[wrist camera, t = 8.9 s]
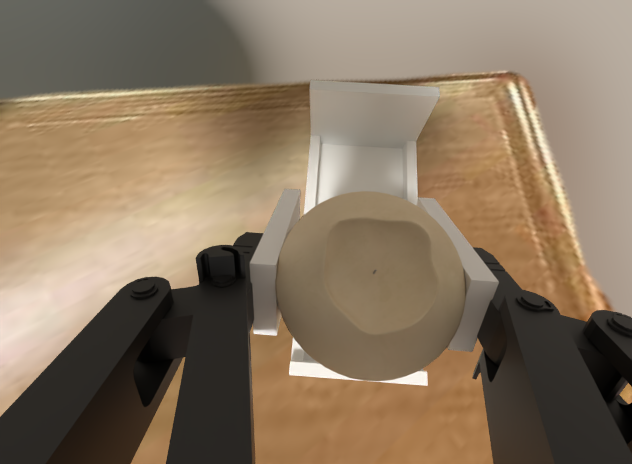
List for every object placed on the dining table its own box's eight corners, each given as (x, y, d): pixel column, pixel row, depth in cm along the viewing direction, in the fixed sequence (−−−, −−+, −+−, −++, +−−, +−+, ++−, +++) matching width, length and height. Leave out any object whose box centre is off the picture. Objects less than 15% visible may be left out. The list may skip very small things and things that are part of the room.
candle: (275, 296, 17) (223, 251, 8) (350, 236, 18) (385, 132, 9) (340, 381, 16) (371, 451, 6) (417, 311, 17) (542, 283, 7)
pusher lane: (292, 369, 28) (281, 387, 20) (311, 140, 35) (310, 79, 27) (414, 378, 28) (457, 400, 19) (409, 146, 35) (439, 87, 26)
